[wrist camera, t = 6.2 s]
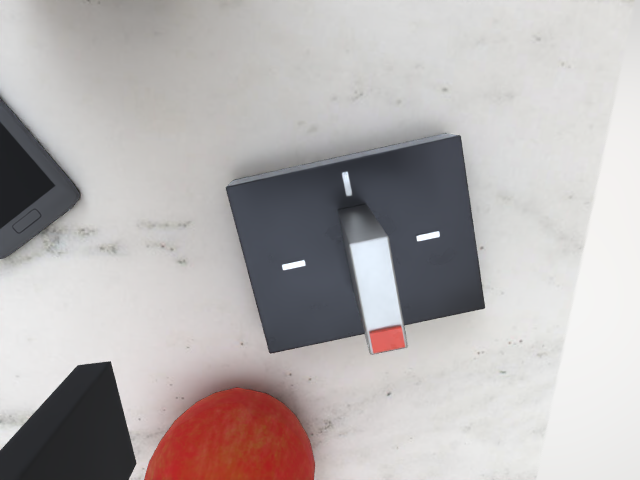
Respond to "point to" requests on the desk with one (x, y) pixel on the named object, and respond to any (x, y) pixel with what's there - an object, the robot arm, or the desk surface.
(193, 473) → the apple
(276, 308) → the panel
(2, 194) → the cell phone
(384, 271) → the stove knob
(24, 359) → the desk surface
